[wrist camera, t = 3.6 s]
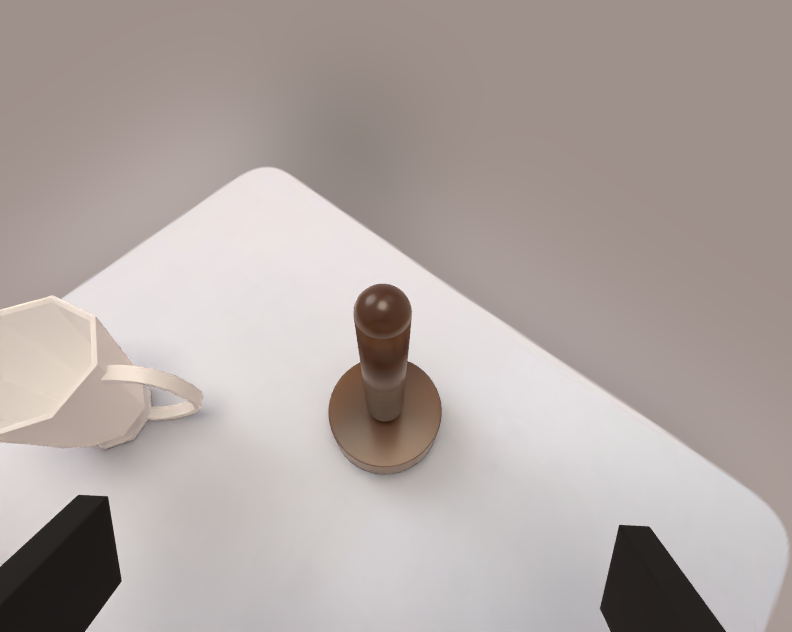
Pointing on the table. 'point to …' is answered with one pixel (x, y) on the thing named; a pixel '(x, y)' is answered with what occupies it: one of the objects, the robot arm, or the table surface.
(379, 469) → the coffee tamper
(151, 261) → the table surface
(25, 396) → the cup
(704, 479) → the table surface
